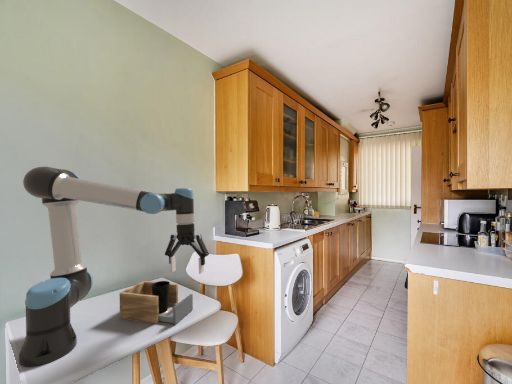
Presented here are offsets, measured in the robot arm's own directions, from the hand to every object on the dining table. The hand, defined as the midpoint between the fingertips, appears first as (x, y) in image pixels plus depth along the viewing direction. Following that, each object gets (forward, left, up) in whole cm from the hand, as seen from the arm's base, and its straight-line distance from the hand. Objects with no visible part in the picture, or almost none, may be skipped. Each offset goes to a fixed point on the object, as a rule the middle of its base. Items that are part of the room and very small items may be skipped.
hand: (187, 272), depth 106 cm
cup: (-1, +13, -18) cm, 23 cm away
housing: (0, +20, -20) cm, 28 cm away
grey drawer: (0, +10, -19) cm, 22 cm away
